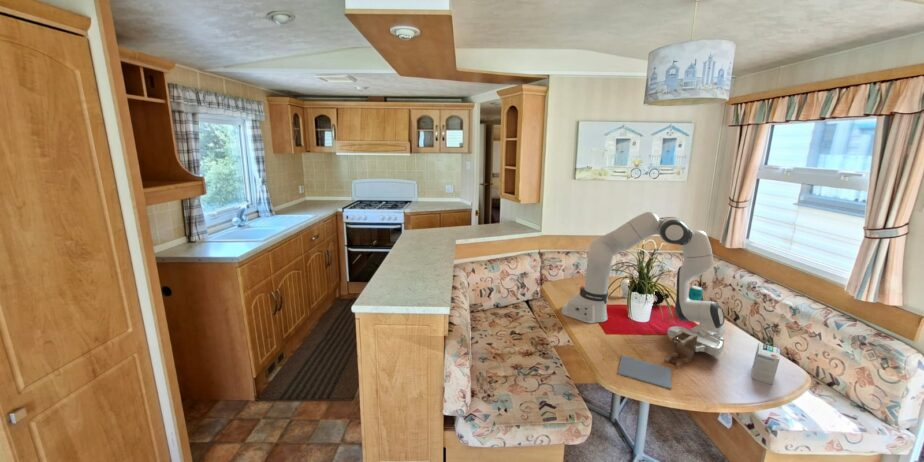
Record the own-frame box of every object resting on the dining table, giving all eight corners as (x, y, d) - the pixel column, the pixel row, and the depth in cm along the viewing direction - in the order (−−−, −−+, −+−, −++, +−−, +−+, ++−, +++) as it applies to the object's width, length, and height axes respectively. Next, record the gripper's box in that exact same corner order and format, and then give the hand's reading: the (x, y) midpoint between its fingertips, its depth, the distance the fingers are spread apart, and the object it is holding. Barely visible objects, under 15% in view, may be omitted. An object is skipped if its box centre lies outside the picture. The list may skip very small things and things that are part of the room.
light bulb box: (752, 365, 151) (758, 341, 149) (773, 372, 147) (780, 348, 144) (750, 378, 143) (757, 352, 141) (773, 385, 139) (780, 359, 136)
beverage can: (699, 317, 192) (705, 290, 189) (687, 316, 193) (692, 288, 190) (695, 312, 198) (700, 285, 194) (683, 311, 199) (688, 284, 195)
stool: (678, 352, 159) (682, 329, 156) (693, 359, 154) (697, 335, 152) (664, 360, 153) (668, 336, 150) (679, 368, 148) (683, 343, 145)
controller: (648, 299, 213) (651, 282, 211) (668, 307, 202) (671, 290, 200) (643, 300, 211) (646, 283, 209) (663, 309, 201) (666, 291, 198)
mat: (617, 373, 143) (617, 372, 143) (621, 356, 155) (621, 355, 155) (670, 389, 135) (671, 388, 135) (670, 369, 147) (670, 368, 147)
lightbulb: (618, 298, 212) (621, 280, 210) (618, 294, 218) (620, 277, 215) (630, 300, 210) (633, 282, 208) (630, 296, 216) (632, 278, 213)
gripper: (677, 320, 170) (661, 327, 162) (728, 340, 153) (713, 349, 146) (675, 332, 171) (659, 341, 163) (725, 353, 155) (710, 364, 147)
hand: (685, 345), depth 154 cm, fingers closed on stool, 6 cm apart
